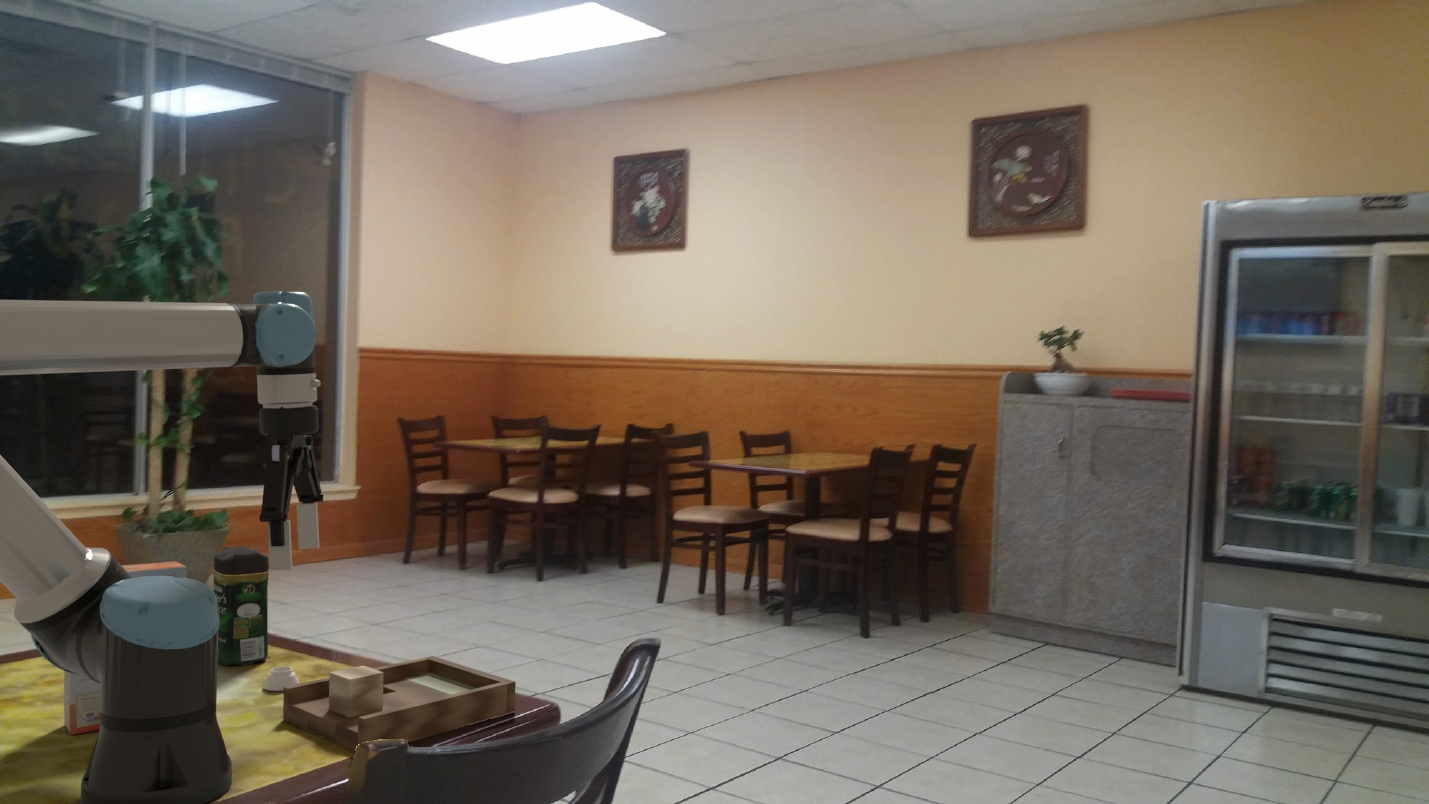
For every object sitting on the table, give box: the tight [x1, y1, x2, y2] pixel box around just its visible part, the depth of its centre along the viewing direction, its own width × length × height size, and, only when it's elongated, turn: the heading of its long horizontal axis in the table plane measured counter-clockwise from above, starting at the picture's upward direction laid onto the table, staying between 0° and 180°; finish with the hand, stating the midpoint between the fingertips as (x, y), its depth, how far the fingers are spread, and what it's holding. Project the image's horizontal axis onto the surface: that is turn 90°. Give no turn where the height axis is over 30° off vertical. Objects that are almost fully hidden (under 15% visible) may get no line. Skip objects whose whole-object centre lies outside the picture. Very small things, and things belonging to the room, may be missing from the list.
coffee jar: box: [213, 545, 270, 666], centre depth 178 cm, size 10×8×19 cm
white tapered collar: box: [262, 666, 300, 693], centre depth 163 cm, size 5×3×5 cm
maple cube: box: [329, 665, 383, 717], centre depth 145 cm, size 5×5×5 cm
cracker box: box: [63, 560, 188, 736], centre depth 145 cm, size 14×6×21 cm, turn 129°
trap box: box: [282, 655, 517, 752], centre depth 150 cm, size 24×20×4 cm
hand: (295, 558), depth 149 cm, fingers open, 13 cm apart
